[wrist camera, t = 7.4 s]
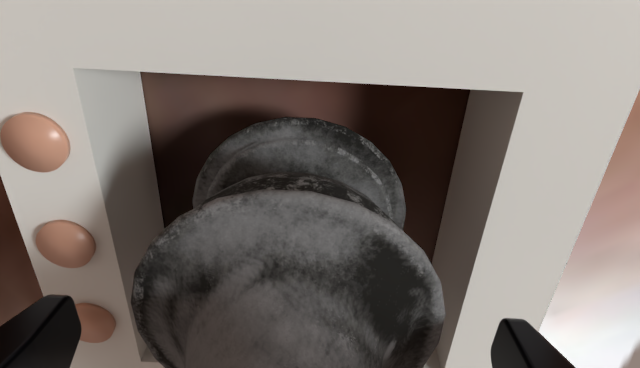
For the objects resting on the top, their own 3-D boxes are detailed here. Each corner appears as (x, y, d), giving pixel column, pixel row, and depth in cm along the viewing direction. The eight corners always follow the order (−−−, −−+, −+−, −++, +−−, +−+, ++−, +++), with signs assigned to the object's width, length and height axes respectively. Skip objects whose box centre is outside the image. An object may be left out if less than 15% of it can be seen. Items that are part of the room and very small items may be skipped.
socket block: (474, 340, 17) (501, 431, 14) (120, 322, 16) (78, 410, 14) (598, -48, 10) (694, -20, 7) (20, -80, 10) (-95, -63, 7)
